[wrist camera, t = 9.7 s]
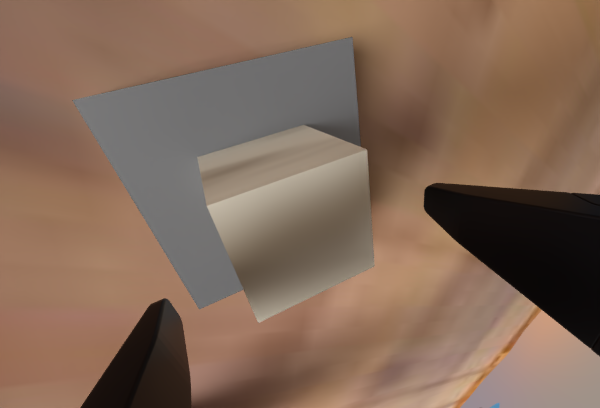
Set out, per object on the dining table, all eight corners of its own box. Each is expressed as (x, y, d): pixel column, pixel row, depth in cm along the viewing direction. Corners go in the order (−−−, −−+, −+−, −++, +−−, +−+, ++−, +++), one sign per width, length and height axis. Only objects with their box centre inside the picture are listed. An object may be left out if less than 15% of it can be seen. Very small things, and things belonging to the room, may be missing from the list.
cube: (319, 212, 15) (374, 266, 10) (234, 247, 13) (258, 322, 9) (303, 124, 12) (367, 149, 8) (197, 157, 11) (206, 205, 7)
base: (343, 213, 19) (367, 233, 17) (196, 274, 17) (199, 309, 14) (321, 44, 14) (352, 36, 11) (96, 95, 11) (72, 100, 9)
